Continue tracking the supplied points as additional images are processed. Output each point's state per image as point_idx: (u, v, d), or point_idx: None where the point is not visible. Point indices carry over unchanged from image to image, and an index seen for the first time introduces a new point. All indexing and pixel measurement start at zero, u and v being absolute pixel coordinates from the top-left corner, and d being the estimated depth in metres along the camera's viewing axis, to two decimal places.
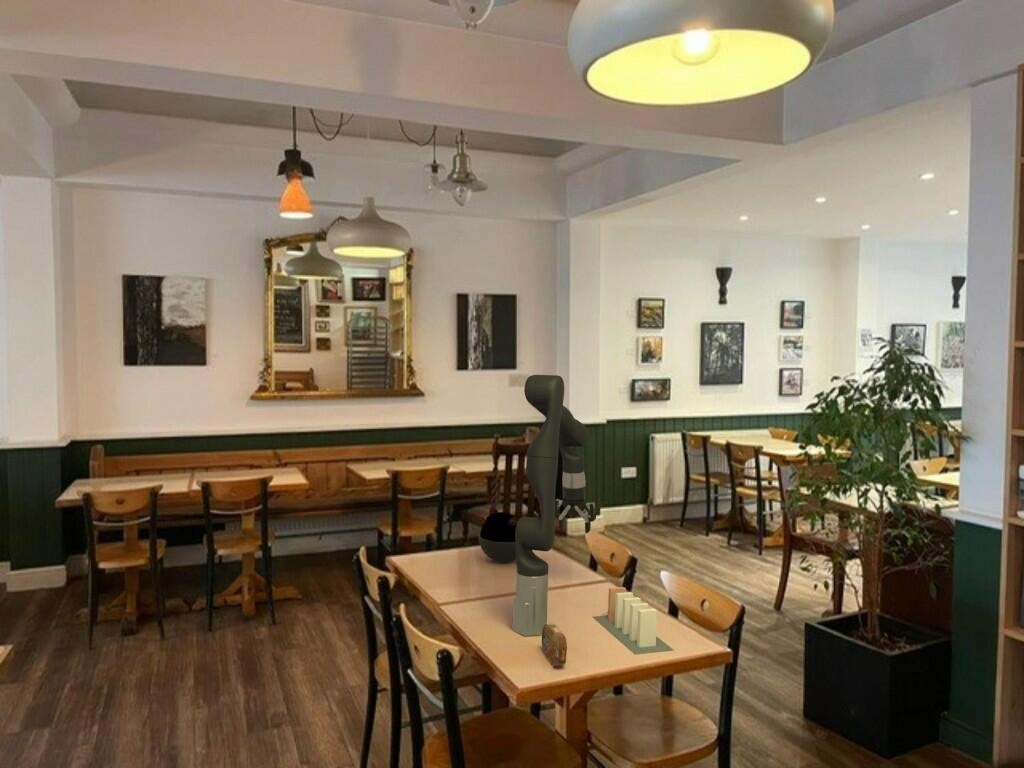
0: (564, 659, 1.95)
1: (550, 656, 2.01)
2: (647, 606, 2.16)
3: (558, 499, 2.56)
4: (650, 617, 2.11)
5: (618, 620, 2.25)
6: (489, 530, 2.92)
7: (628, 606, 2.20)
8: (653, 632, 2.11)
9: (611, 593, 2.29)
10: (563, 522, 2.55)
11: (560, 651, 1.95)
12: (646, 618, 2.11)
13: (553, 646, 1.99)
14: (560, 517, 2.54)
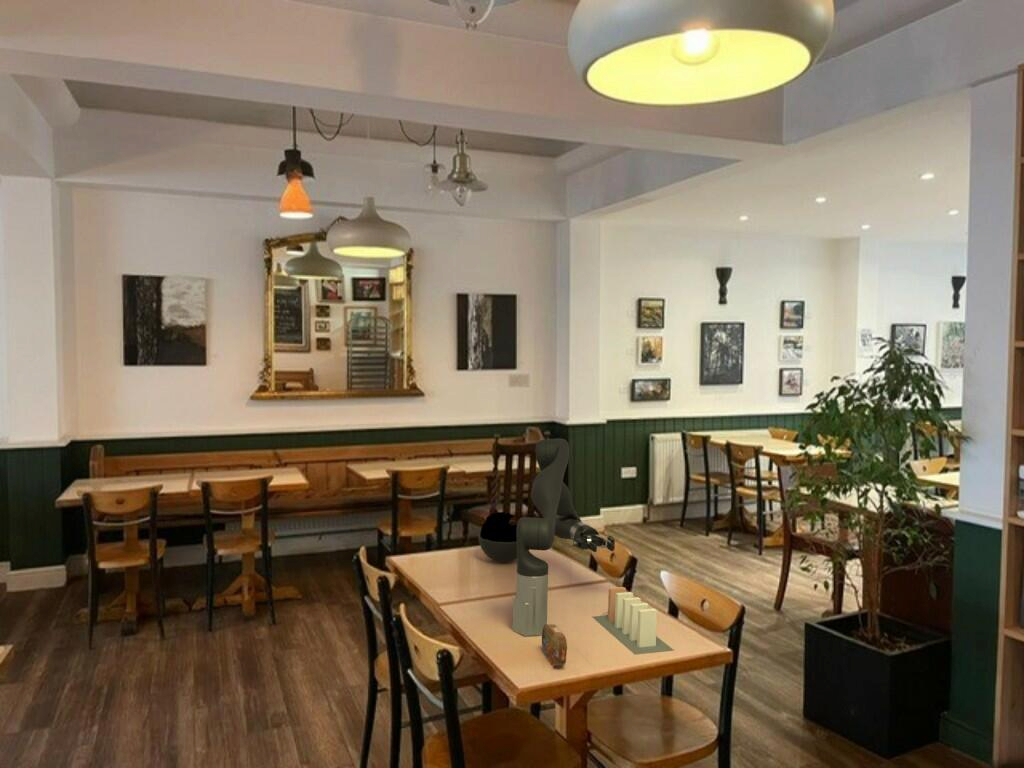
0: (564, 659, 1.95)
1: (550, 656, 2.01)
2: (647, 606, 2.16)
3: None
4: (650, 617, 2.11)
5: (618, 620, 2.25)
6: (489, 530, 2.92)
7: (628, 606, 2.20)
8: (653, 632, 2.11)
9: (611, 593, 2.29)
10: None
11: (560, 651, 1.95)
12: (646, 618, 2.11)
13: (553, 646, 1.99)
14: (588, 541, 2.44)
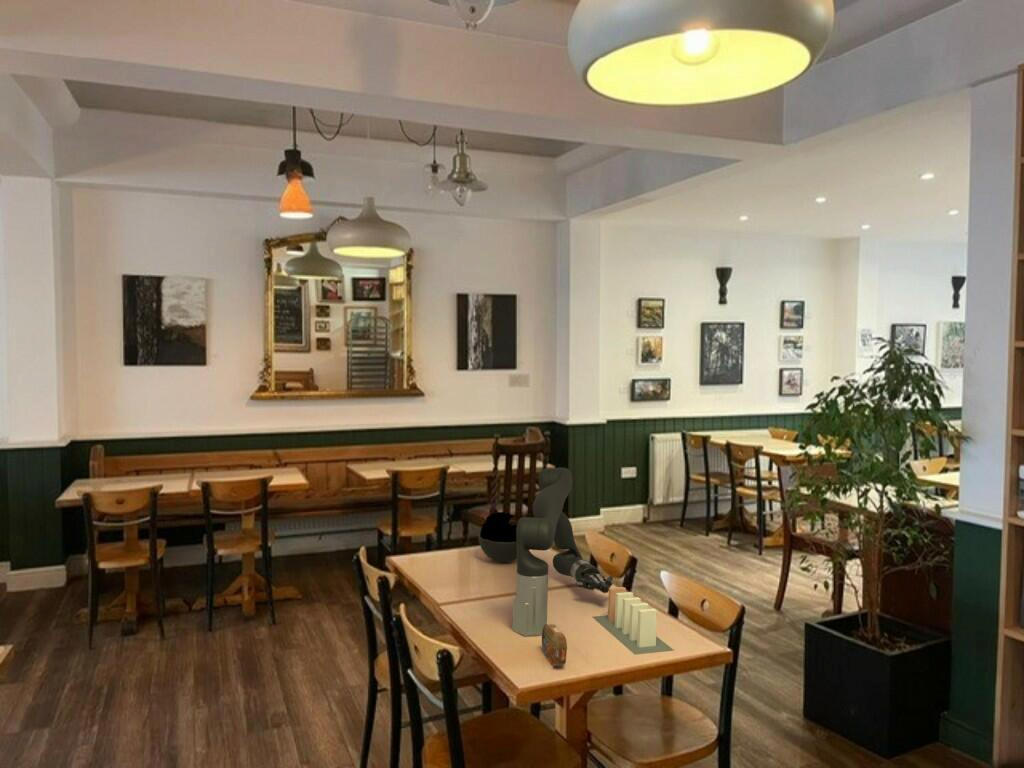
0: (564, 659, 1.95)
1: (550, 656, 2.01)
2: (647, 606, 2.16)
3: None
4: (650, 617, 2.11)
5: (618, 620, 2.25)
6: (489, 530, 2.92)
7: (628, 606, 2.20)
8: (653, 632, 2.11)
9: (611, 593, 2.29)
10: None
11: (560, 651, 1.95)
12: (646, 618, 2.11)
13: (553, 646, 1.99)
14: (597, 581, 2.43)
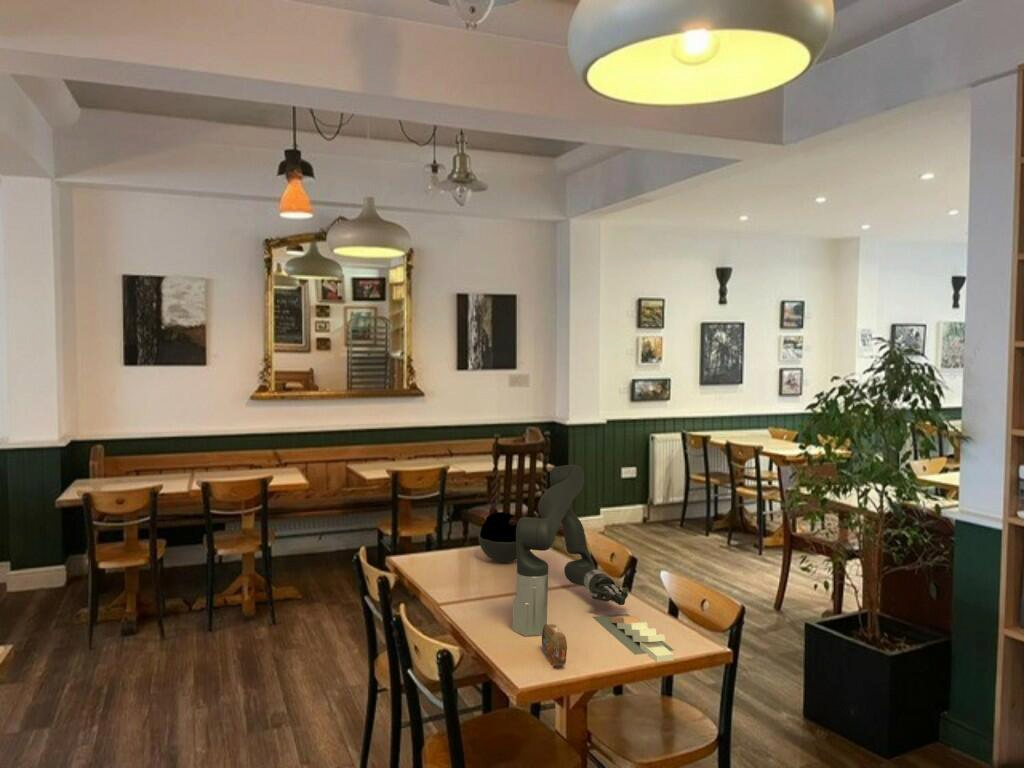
0: (564, 659, 1.95)
1: (550, 656, 2.01)
2: (663, 640, 2.07)
3: None
4: None
5: (622, 628, 2.22)
6: (489, 530, 2.92)
7: None
8: None
9: (623, 622, 2.21)
10: None
11: (560, 651, 1.95)
12: None
13: (553, 646, 1.99)
14: (612, 593, 2.31)
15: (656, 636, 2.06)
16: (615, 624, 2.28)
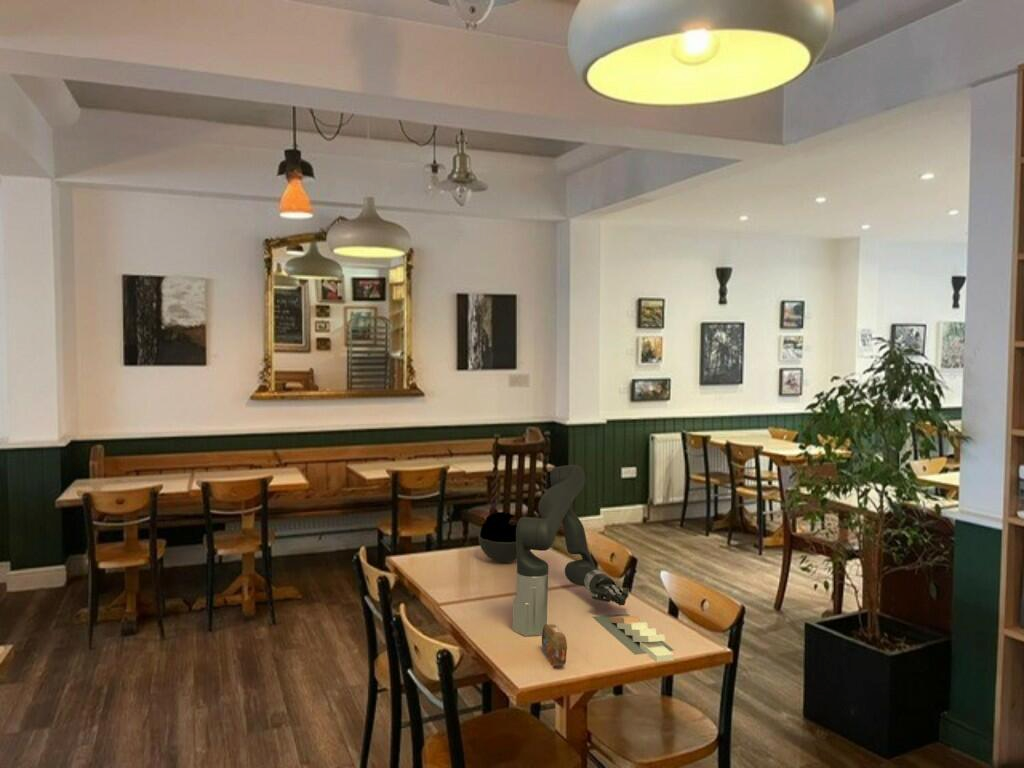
0: (564, 659, 1.95)
1: (550, 656, 2.01)
2: (663, 640, 2.07)
3: None
4: None
5: (622, 628, 2.22)
6: (489, 530, 2.92)
7: None
8: None
9: (623, 622, 2.21)
10: None
11: (560, 651, 1.95)
12: None
13: (553, 646, 1.99)
14: (613, 593, 2.31)
15: (656, 636, 2.06)
16: (615, 624, 2.28)
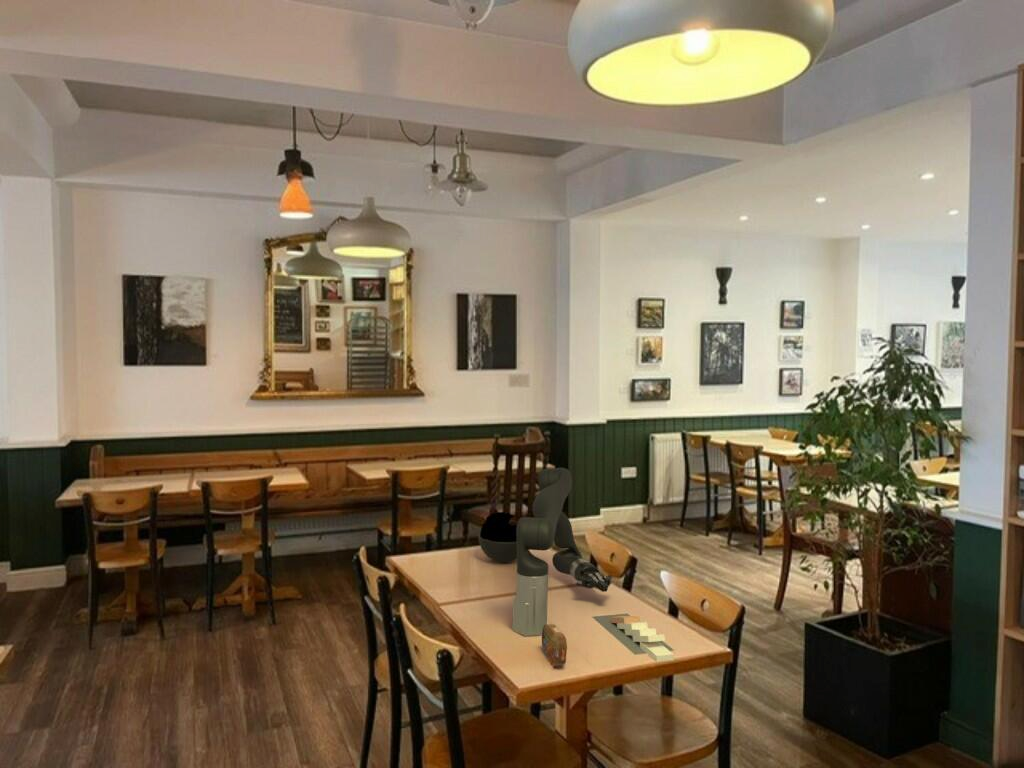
0: (564, 659, 1.95)
1: (550, 656, 2.01)
2: (663, 640, 2.07)
3: None
4: None
5: (622, 628, 2.22)
6: (489, 530, 2.92)
7: None
8: None
9: (623, 622, 2.21)
10: None
11: (560, 651, 1.95)
12: None
13: (553, 646, 1.99)
14: (596, 580, 2.44)
15: (656, 636, 2.06)
16: (615, 624, 2.28)
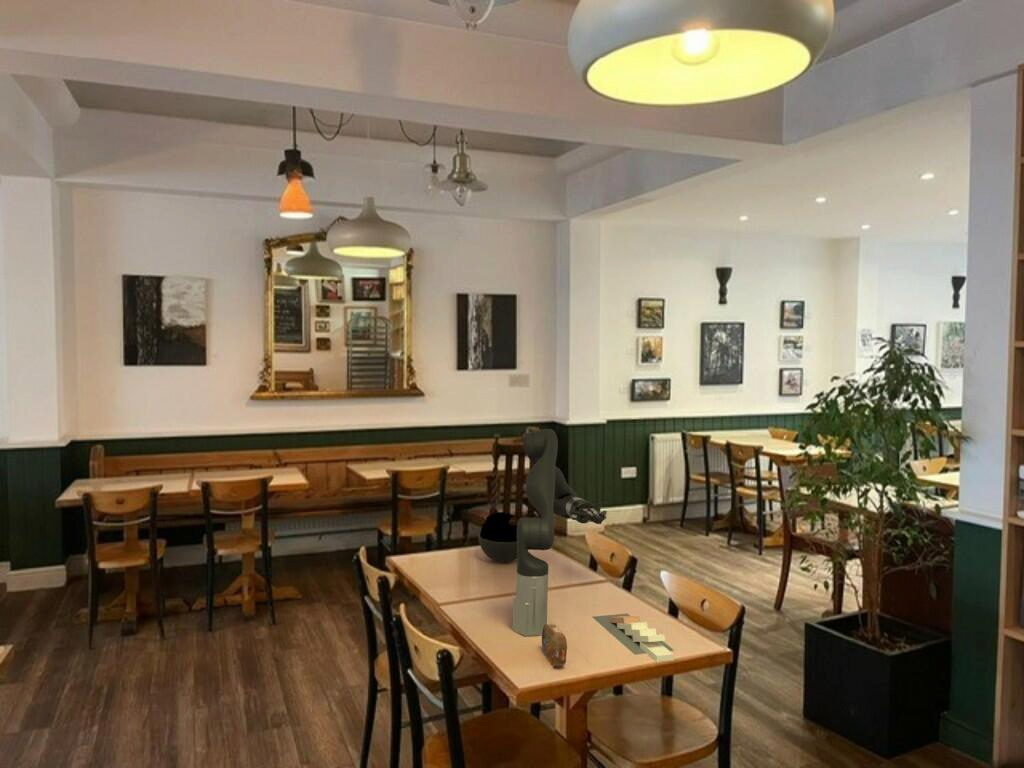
0: (564, 659, 1.95)
1: (550, 656, 2.01)
2: (663, 640, 2.07)
3: None
4: None
5: (622, 628, 2.22)
6: (489, 530, 2.92)
7: None
8: None
9: (623, 622, 2.21)
10: None
11: (560, 651, 1.95)
12: None
13: (553, 646, 1.99)
14: (591, 514, 2.48)
15: (656, 636, 2.06)
16: (615, 624, 2.28)
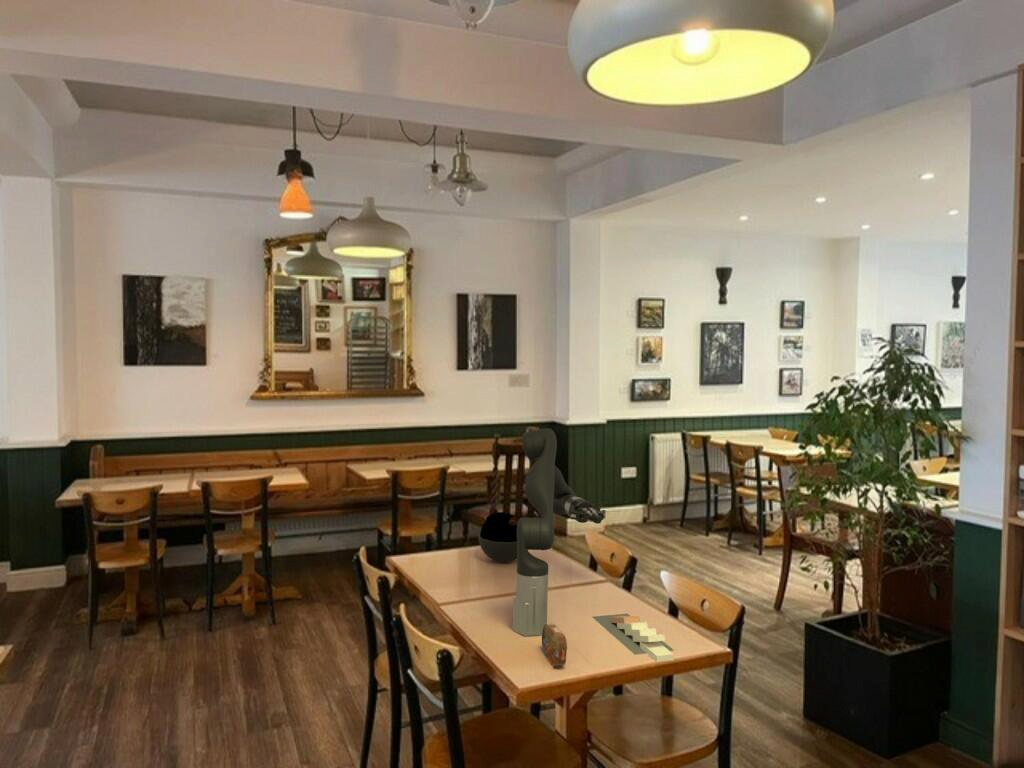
0: (564, 659, 1.95)
1: (550, 656, 2.01)
2: (663, 640, 2.07)
3: None
4: None
5: (622, 628, 2.22)
6: (489, 530, 2.92)
7: None
8: None
9: (623, 622, 2.21)
10: None
11: (560, 651, 1.95)
12: None
13: (553, 646, 1.99)
14: (590, 513, 2.48)
15: (656, 636, 2.06)
16: (615, 624, 2.28)
